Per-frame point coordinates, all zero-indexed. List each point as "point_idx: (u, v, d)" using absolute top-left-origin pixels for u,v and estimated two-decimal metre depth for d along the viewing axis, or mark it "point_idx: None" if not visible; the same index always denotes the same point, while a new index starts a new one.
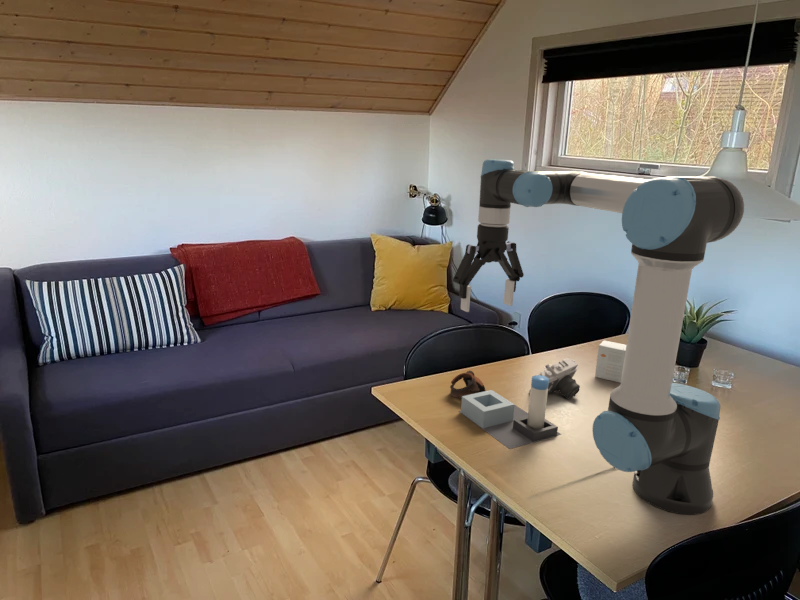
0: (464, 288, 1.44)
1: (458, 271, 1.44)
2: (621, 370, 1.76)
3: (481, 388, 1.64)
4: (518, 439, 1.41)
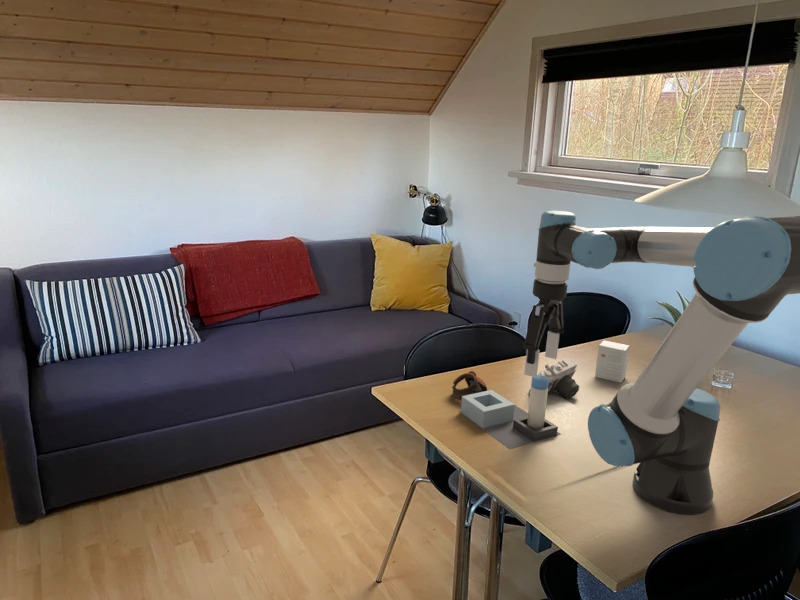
0: (534, 353, 1.32)
1: (529, 336, 1.30)
2: (621, 370, 1.76)
3: (483, 388, 1.63)
4: (518, 439, 1.41)
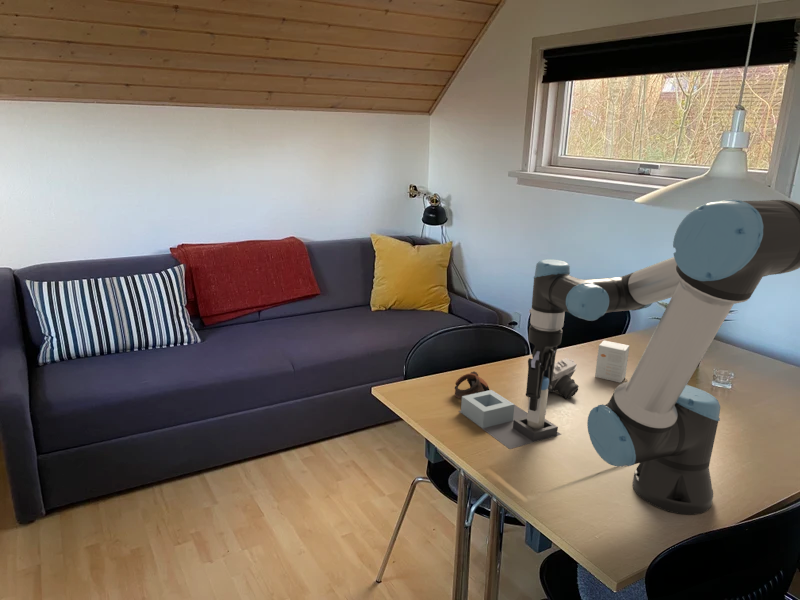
0: (536, 401, 1.39)
1: (529, 387, 1.37)
2: (621, 370, 1.76)
3: (485, 389, 1.63)
4: (518, 439, 1.41)
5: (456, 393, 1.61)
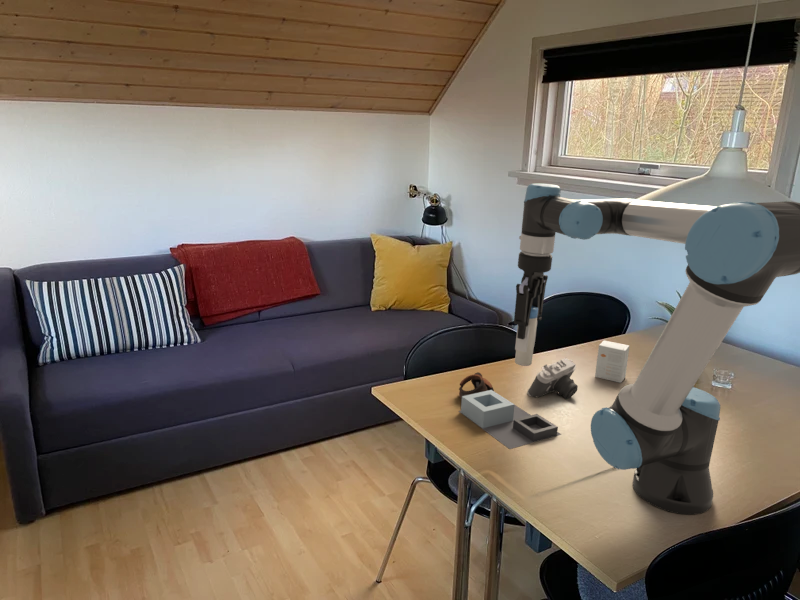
0: (524, 329, 1.37)
1: (517, 313, 1.35)
2: (621, 370, 1.76)
3: None
4: (518, 439, 1.41)
5: (460, 394, 1.60)
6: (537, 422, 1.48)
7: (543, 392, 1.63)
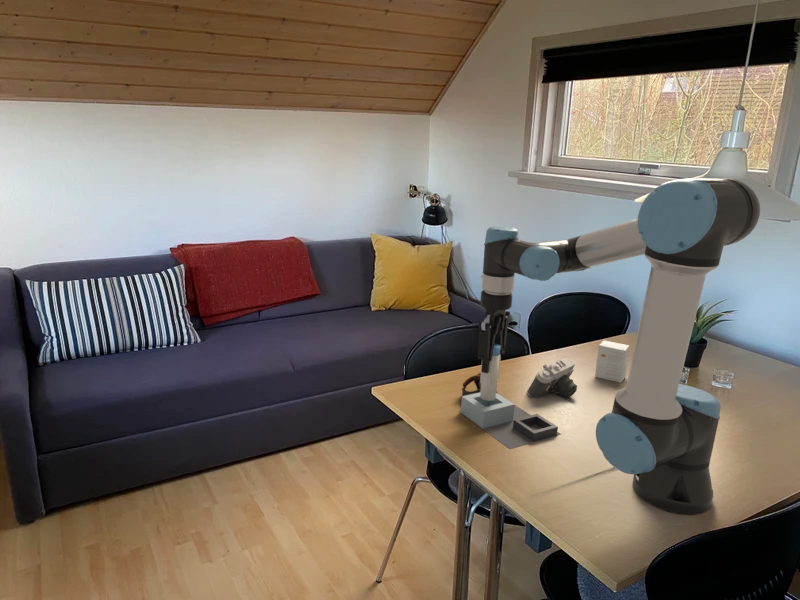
0: (488, 363, 1.44)
1: (480, 349, 1.42)
2: (621, 370, 1.76)
3: None
4: (518, 439, 1.41)
5: (463, 395, 1.60)
6: (537, 422, 1.48)
7: (542, 392, 1.63)
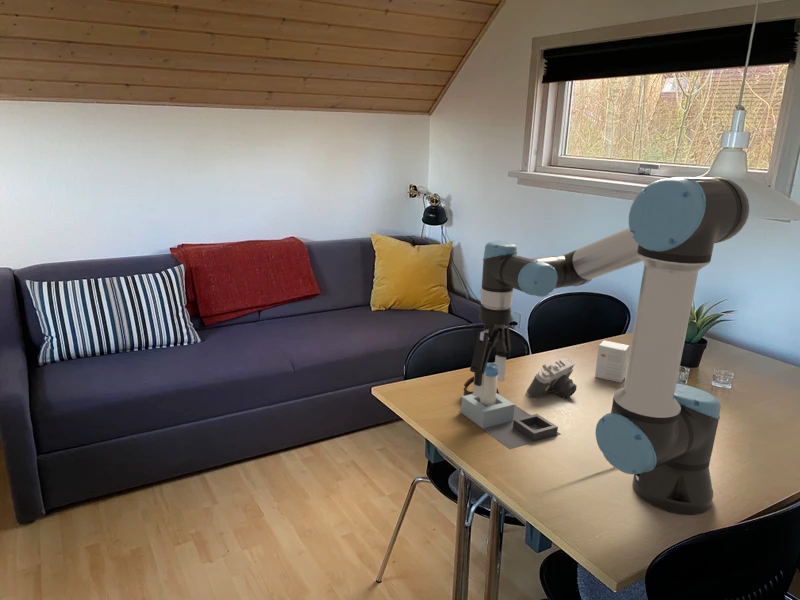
0: (480, 376, 1.42)
1: (474, 360, 1.40)
2: (621, 370, 1.76)
3: None
4: (518, 439, 1.41)
5: (465, 395, 1.60)
6: (537, 422, 1.48)
7: (542, 392, 1.63)
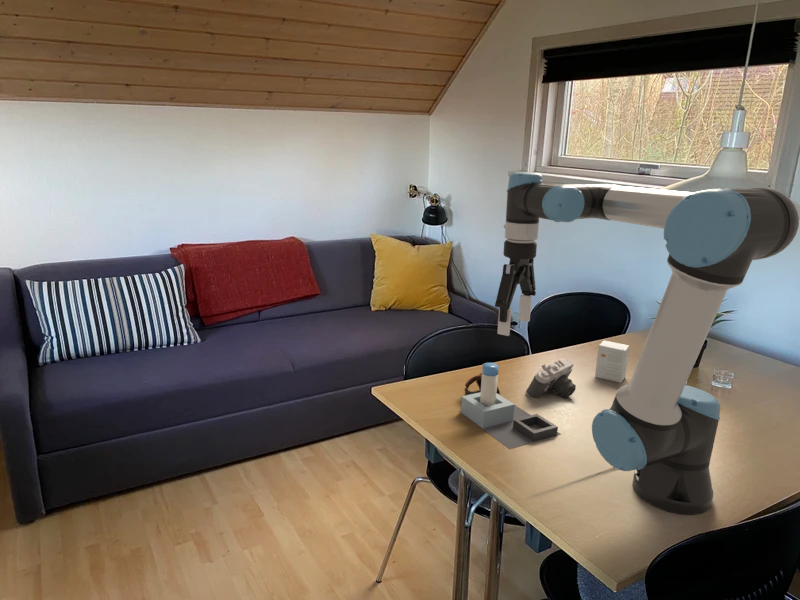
0: (506, 311, 1.35)
1: (500, 294, 1.33)
2: (621, 370, 1.76)
3: None
4: (518, 439, 1.41)
5: None
6: (537, 422, 1.48)
7: (541, 392, 1.63)
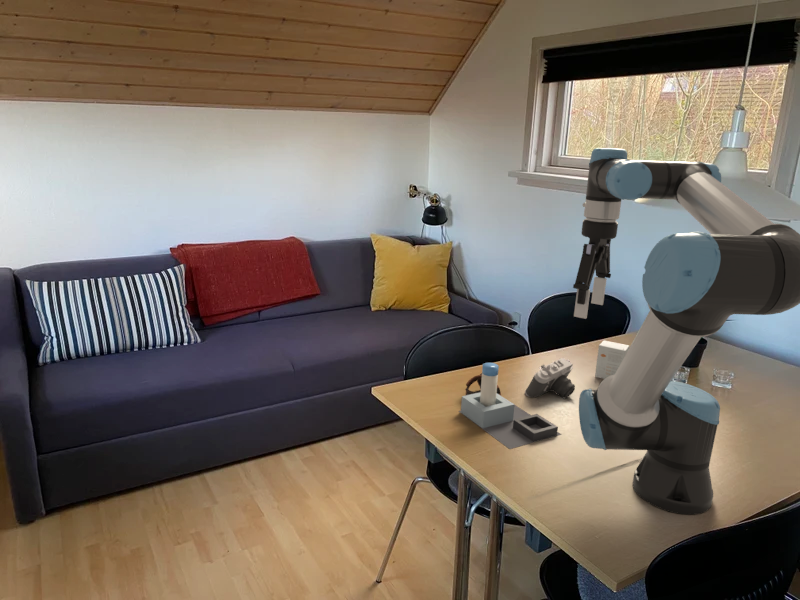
0: (585, 293, 1.29)
1: (580, 275, 1.28)
2: None
3: None
4: (518, 439, 1.41)
5: None
6: (537, 422, 1.48)
7: (540, 392, 1.63)
